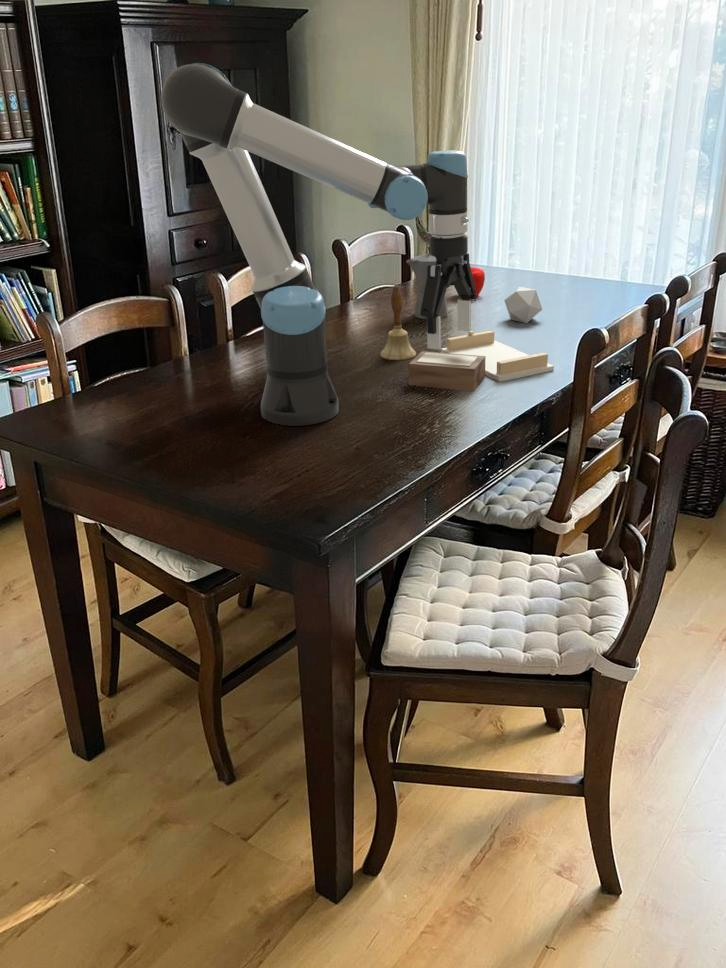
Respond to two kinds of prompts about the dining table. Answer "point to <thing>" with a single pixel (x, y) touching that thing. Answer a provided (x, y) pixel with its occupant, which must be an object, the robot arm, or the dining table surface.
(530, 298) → the die
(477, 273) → the apple
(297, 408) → the robot arm
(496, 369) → the wall panel
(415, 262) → the coffeepot
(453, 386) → the frame
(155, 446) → the dining table surface
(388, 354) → the hand bell
